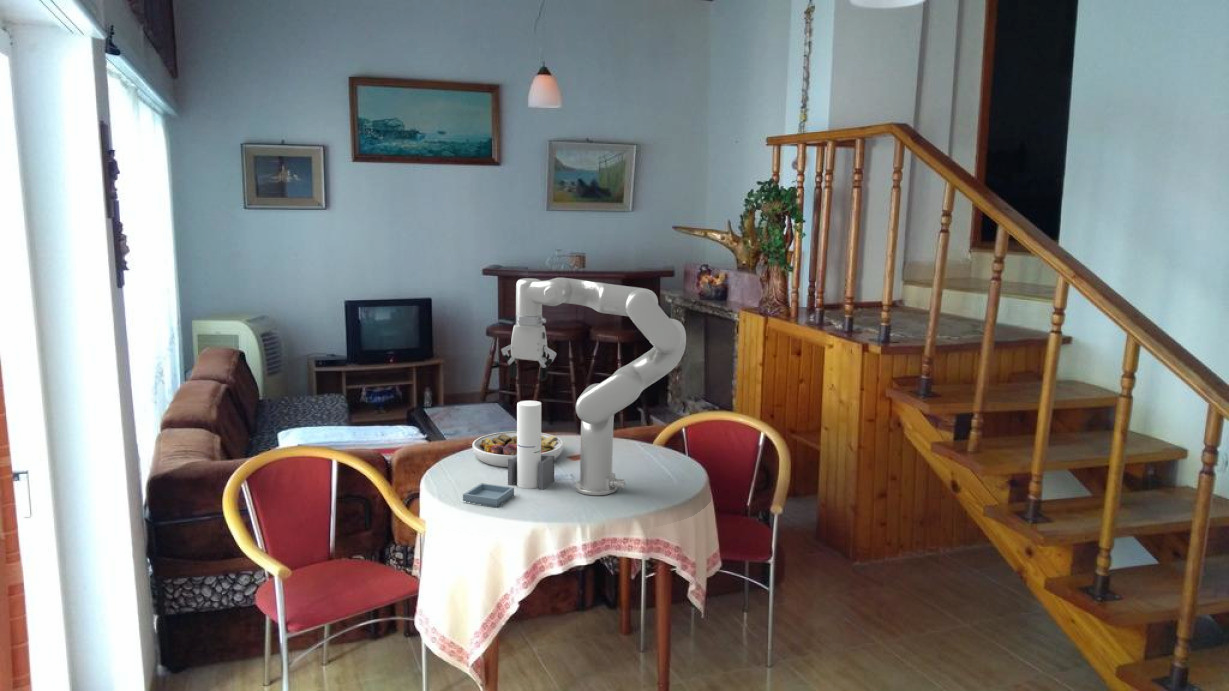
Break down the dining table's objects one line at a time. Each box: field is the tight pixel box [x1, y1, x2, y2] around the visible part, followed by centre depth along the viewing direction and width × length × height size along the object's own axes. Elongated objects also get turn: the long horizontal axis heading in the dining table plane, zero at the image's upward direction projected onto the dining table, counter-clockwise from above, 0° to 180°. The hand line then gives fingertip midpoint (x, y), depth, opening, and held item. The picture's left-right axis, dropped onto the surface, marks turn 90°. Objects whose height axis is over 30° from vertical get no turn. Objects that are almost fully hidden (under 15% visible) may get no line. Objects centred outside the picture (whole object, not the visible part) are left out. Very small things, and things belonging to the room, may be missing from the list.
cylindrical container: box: [516, 400, 542, 489], centre depth 249 cm, size 7×7×25 cm
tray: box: [462, 483, 515, 508], centre depth 238 cm, size 11×11×2 cm
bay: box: [507, 454, 555, 491], centre depth 252 cm, size 11×8×8 cm
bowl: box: [472, 430, 564, 468], centre depth 279 cm, size 30×30×8 cm
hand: (528, 378), depth 246 cm, fingers open, 9 cm apart
